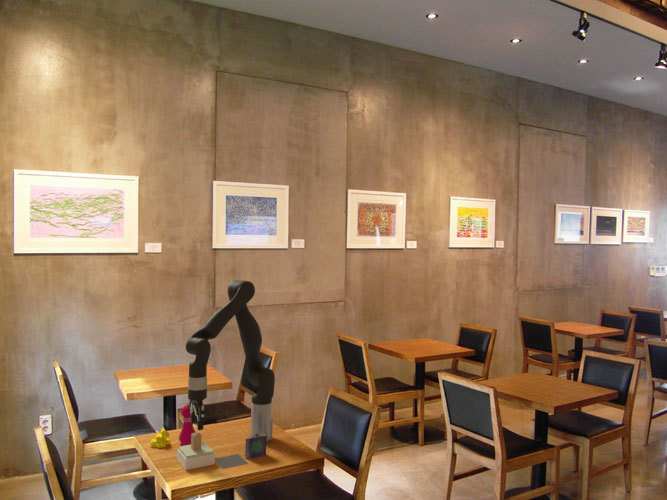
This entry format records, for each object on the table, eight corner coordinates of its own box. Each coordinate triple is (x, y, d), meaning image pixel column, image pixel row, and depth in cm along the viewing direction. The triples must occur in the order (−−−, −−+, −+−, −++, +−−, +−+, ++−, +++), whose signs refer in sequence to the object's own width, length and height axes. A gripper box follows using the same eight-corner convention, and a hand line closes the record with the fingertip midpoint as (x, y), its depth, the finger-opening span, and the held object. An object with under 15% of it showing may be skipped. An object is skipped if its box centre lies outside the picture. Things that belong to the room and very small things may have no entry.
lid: (204, 444, 217) (205, 427, 217) (213, 453, 208) (214, 436, 208) (178, 449, 211) (179, 432, 211) (186, 458, 202) (187, 441, 202)
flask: (246, 460, 213) (247, 434, 213) (243, 457, 216) (244, 432, 215) (266, 456, 218) (267, 431, 218) (264, 453, 220) (264, 428, 220)
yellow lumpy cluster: (149, 444, 227) (150, 426, 227) (168, 441, 230) (169, 424, 230) (151, 449, 222) (152, 431, 222) (170, 446, 225) (171, 428, 225)
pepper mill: (191, 451, 220) (192, 405, 220) (175, 449, 221) (176, 403, 221) (198, 445, 227) (200, 400, 227) (183, 443, 228) (185, 398, 228)
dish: (205, 454, 218) (205, 443, 218) (214, 464, 208) (215, 453, 208) (176, 459, 211) (177, 448, 211) (185, 471, 201) (185, 459, 201)
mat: (238, 454, 218) (238, 453, 218) (248, 464, 209) (248, 463, 209) (213, 459, 212) (213, 458, 212) (222, 470, 203) (222, 469, 203)
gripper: (212, 390, 205) (211, 430, 205) (201, 381, 217) (200, 419, 217) (193, 392, 201) (193, 433, 201) (183, 383, 213) (182, 422, 213)
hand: (197, 426), depth 209 cm, fingers open, 8 cm apart
